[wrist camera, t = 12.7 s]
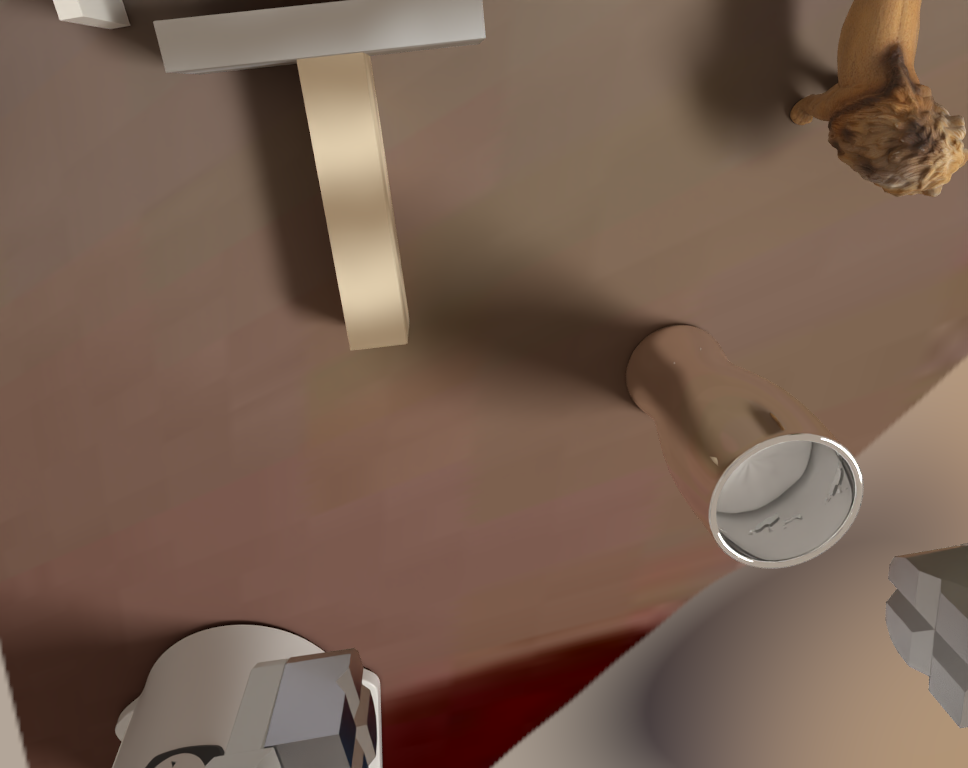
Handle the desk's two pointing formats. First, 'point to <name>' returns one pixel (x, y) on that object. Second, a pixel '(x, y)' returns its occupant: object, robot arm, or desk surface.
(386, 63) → the desk surface
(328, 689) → the robot arm
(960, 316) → the desk surface
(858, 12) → the lion figurine
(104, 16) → the box
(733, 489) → the beer glass
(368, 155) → the scraper
